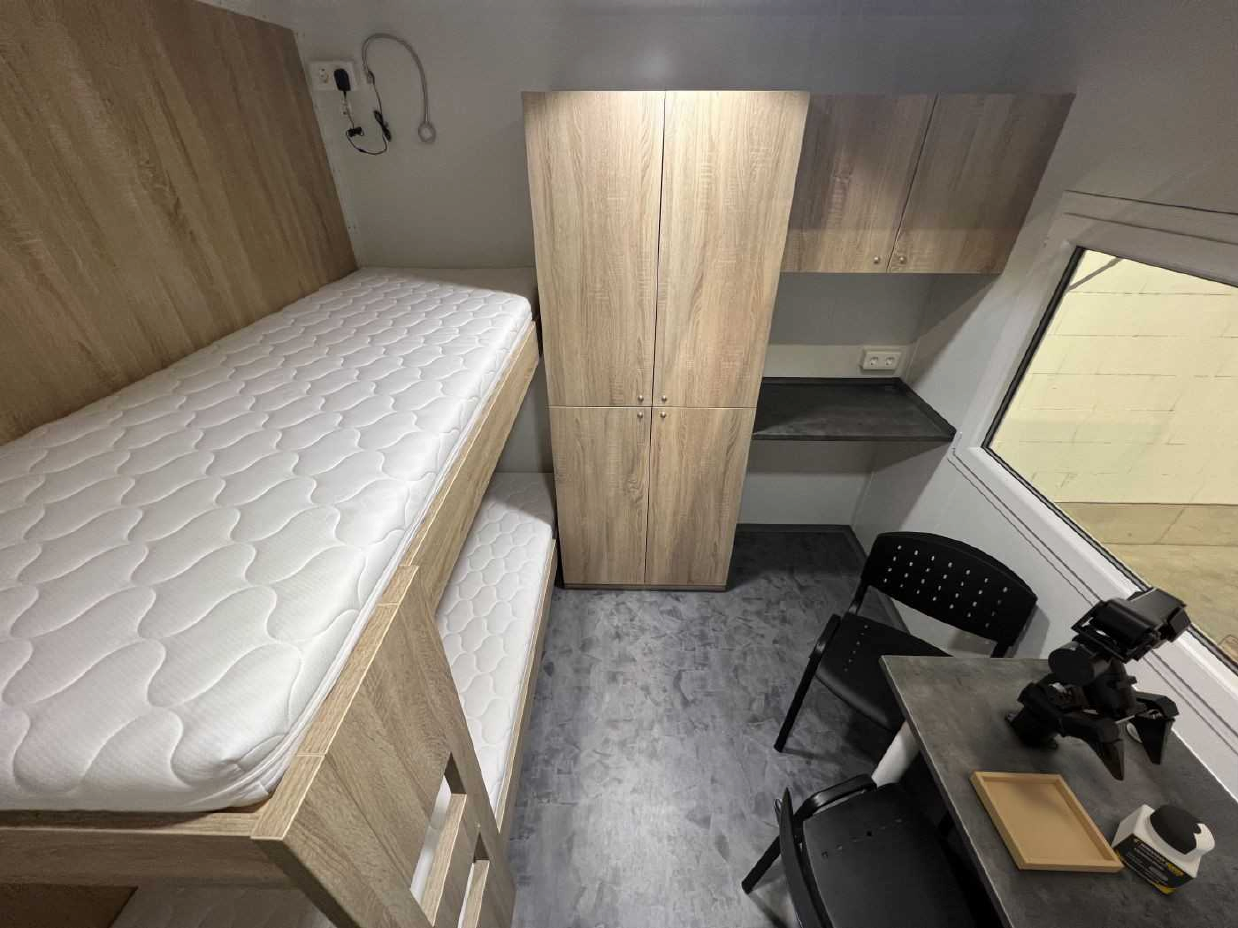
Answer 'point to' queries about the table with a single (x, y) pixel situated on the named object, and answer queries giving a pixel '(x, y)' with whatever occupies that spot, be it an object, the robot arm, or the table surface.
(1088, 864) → the tray
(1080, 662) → the robot arm
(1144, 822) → the medicine bottle
